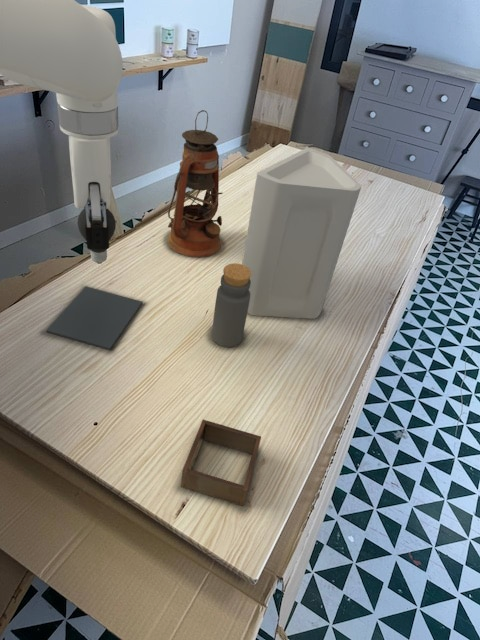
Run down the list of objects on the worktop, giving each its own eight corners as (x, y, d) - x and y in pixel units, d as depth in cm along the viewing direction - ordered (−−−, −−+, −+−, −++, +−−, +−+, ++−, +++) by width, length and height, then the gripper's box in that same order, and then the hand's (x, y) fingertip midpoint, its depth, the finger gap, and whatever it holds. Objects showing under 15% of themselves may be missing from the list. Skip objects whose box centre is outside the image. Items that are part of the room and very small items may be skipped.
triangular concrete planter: (296, 339, 89) (335, 206, 71) (233, 305, 95) (255, 173, 77) (337, 295, 102) (379, 173, 84) (280, 267, 108) (308, 147, 90)
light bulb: (99, 276, 73) (95, 219, 67) (73, 262, 75) (67, 205, 69) (124, 262, 77) (123, 207, 71) (99, 249, 79) (95, 194, 73)
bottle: (242, 349, 85) (254, 283, 76) (210, 345, 85) (219, 279, 75) (242, 328, 90) (254, 263, 80) (212, 324, 89) (220, 259, 80)
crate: (242, 506, 62) (247, 490, 60) (180, 486, 63) (182, 470, 61) (257, 452, 69) (261, 436, 66) (200, 435, 70) (202, 419, 67)
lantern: (195, 267, 103) (207, 129, 84) (150, 245, 107) (151, 109, 88) (236, 239, 115) (255, 112, 95) (193, 220, 119) (203, 94, 100)
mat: (110, 350, 81) (110, 348, 80) (46, 332, 82) (46, 330, 81) (142, 303, 91) (142, 301, 91) (85, 288, 92) (85, 286, 92)
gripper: (59, 96, 66) (71, 210, 78) (57, 141, 54) (72, 269, 66) (113, 99, 69) (117, 210, 80) (124, 144, 56) (126, 267, 68)
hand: (97, 236), depth 73 cm, fingers closed on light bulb, 5 cm apart
